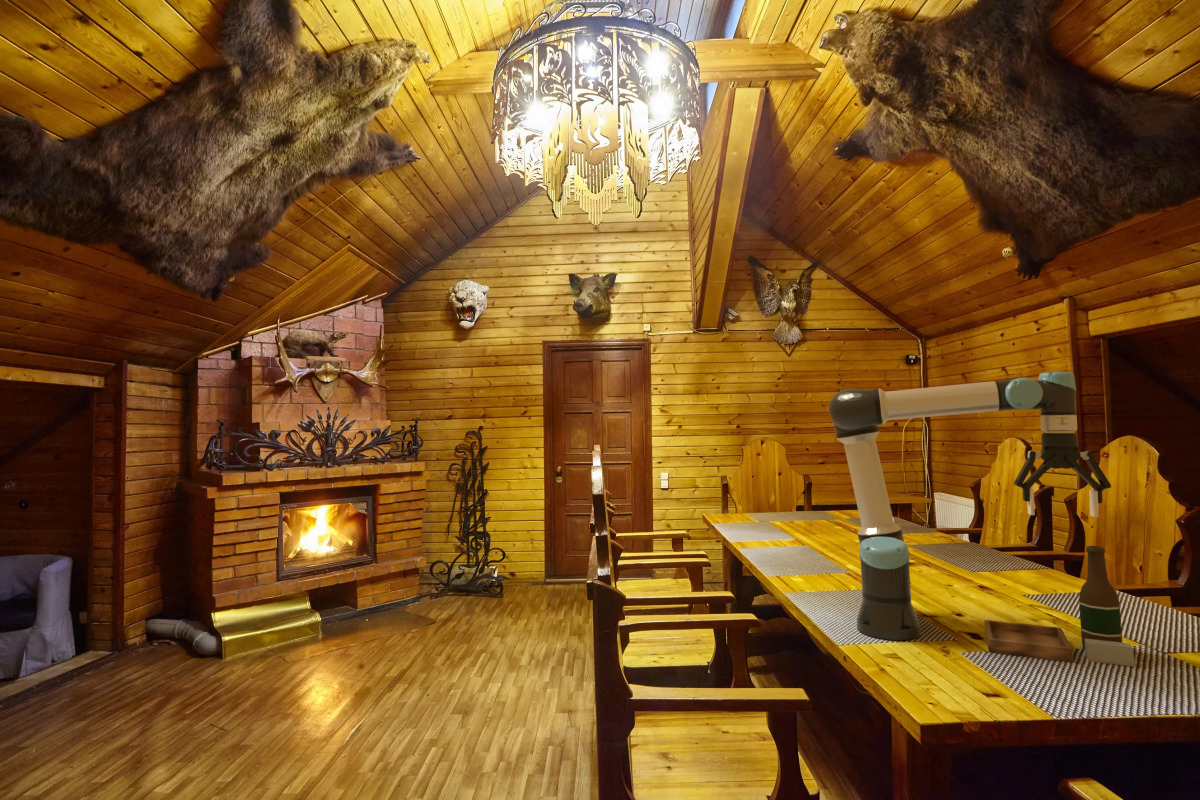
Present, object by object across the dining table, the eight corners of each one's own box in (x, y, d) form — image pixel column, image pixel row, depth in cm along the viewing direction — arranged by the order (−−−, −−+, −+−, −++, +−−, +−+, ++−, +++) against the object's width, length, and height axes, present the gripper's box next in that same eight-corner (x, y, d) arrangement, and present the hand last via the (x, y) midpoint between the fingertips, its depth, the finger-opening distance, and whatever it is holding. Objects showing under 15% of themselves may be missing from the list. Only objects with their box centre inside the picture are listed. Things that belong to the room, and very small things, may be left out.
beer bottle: (1074, 648, 146) (1067, 545, 147) (1092, 643, 149) (1086, 542, 150) (1112, 659, 139) (1105, 551, 140) (1131, 653, 142) (1124, 547, 143)
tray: (988, 652, 145) (987, 639, 145) (985, 631, 159) (984, 619, 159) (1073, 662, 138) (1072, 648, 138) (1061, 640, 151) (1061, 627, 152)
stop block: (1088, 660, 138) (1086, 642, 138) (1085, 656, 141) (1084, 638, 141) (1134, 666, 134) (1133, 647, 135) (1130, 661, 137) (1129, 643, 137)
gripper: (1007, 432, 159) (1010, 515, 159) (1125, 432, 151) (1129, 519, 151) (998, 432, 166) (1001, 511, 166) (1111, 431, 158) (1114, 515, 158)
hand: (1062, 515), depth 158 cm, fingers open, 13 cm apart
